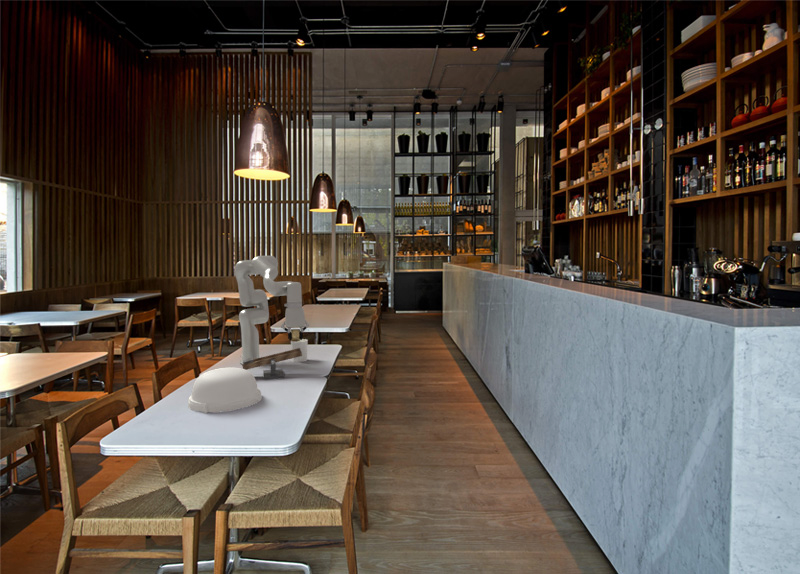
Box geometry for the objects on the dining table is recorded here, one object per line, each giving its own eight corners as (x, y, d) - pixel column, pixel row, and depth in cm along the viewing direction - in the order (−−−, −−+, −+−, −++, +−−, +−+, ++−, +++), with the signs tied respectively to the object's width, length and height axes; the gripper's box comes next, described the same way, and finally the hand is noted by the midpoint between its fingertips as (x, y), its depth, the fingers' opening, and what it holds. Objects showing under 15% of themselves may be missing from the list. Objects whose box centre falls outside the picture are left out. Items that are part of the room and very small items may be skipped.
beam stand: (263, 379, 245) (262, 361, 244) (263, 372, 260) (262, 355, 259) (283, 377, 248) (283, 359, 247) (282, 370, 262) (281, 354, 262)
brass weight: (294, 342, 252) (294, 330, 252) (288, 341, 256) (288, 329, 255) (302, 340, 256) (302, 329, 256) (296, 339, 259) (296, 328, 259)
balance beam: (243, 370, 246) (241, 362, 245) (244, 366, 253) (242, 359, 253) (302, 355, 253) (300, 348, 253) (301, 352, 261) (299, 345, 260)
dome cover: (239, 415, 192) (238, 380, 191) (171, 412, 197) (169, 378, 196) (273, 392, 223) (272, 362, 222) (214, 390, 228) (212, 360, 227)
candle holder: (306, 362, 282) (305, 342, 281) (289, 362, 282) (288, 342, 281) (309, 358, 292) (309, 338, 291) (293, 358, 292) (292, 339, 291)
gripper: (278, 307, 249) (279, 342, 250) (311, 305, 253) (312, 340, 255) (277, 305, 256) (278, 339, 257) (310, 304, 260) (311, 337, 262)
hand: (295, 339), depth 256 cm, fingers closed on brass weight, 5 cm apart
